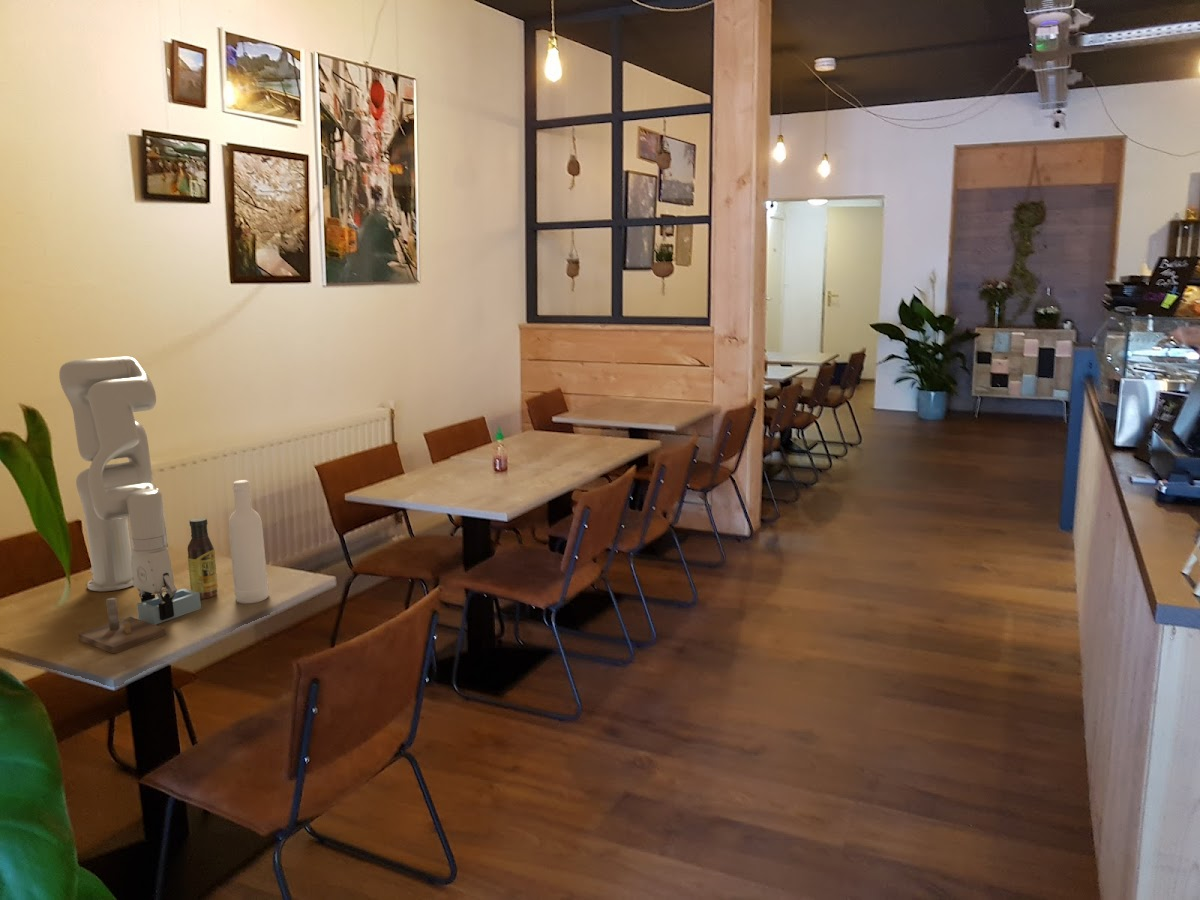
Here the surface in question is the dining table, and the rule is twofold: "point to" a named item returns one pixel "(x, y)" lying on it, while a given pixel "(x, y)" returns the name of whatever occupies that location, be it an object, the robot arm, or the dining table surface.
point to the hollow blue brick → (182, 605)
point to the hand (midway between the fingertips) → (158, 614)
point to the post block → (120, 632)
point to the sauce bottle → (201, 560)
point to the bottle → (247, 548)
